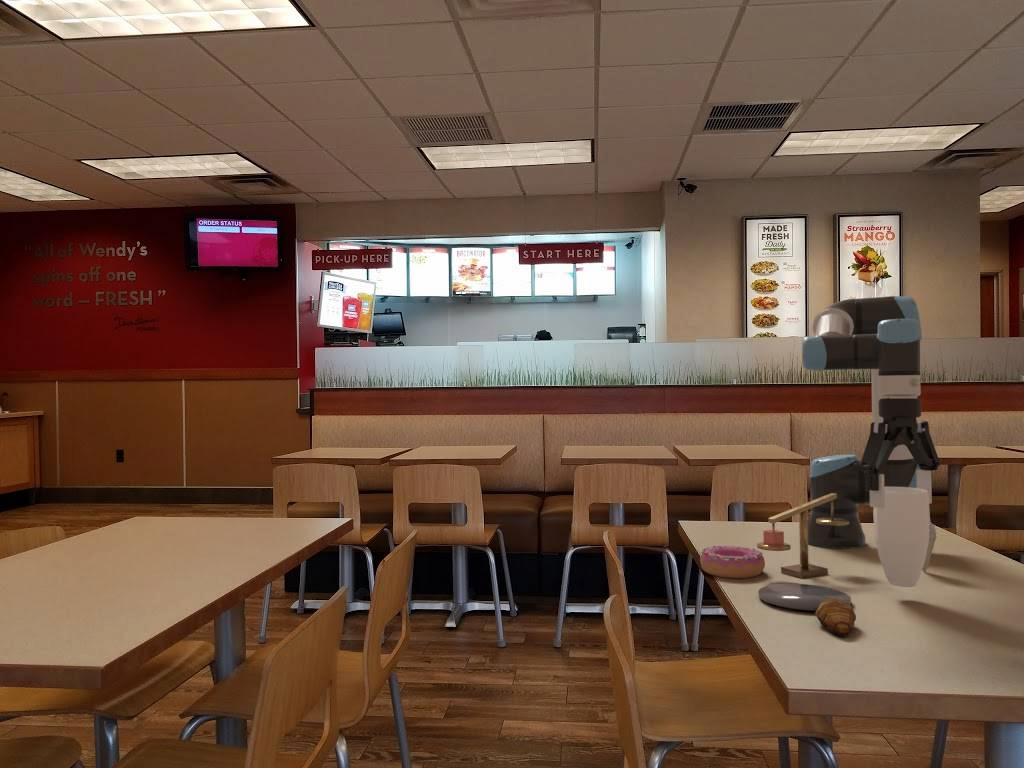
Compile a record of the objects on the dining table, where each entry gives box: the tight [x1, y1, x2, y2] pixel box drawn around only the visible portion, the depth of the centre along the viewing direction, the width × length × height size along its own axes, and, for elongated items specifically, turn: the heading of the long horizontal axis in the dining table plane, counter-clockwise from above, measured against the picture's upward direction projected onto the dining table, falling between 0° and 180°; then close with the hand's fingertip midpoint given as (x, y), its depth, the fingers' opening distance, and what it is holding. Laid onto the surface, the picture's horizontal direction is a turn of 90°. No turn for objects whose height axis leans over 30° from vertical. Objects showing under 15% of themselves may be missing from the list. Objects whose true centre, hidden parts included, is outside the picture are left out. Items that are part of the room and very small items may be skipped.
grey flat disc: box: [757, 583, 852, 612], centre depth 150 cm, size 17×17×1 cm
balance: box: [756, 493, 849, 579], centre depth 171 cm, size 25×7×17 cm, turn 116°
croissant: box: [815, 599, 857, 637], centre depth 134 cm, size 14×7×5 cm, turn 169°
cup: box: [872, 487, 931, 588], centre depth 150 cm, size 10×10×22 cm
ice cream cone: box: [922, 517, 938, 573], centre depth 171 cm, size 5×5×15 cm
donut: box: [699, 545, 766, 579], centre depth 174 cm, size 14×14×5 cm
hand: (901, 505), depth 150 cm, fingers open, 13 cm apart
